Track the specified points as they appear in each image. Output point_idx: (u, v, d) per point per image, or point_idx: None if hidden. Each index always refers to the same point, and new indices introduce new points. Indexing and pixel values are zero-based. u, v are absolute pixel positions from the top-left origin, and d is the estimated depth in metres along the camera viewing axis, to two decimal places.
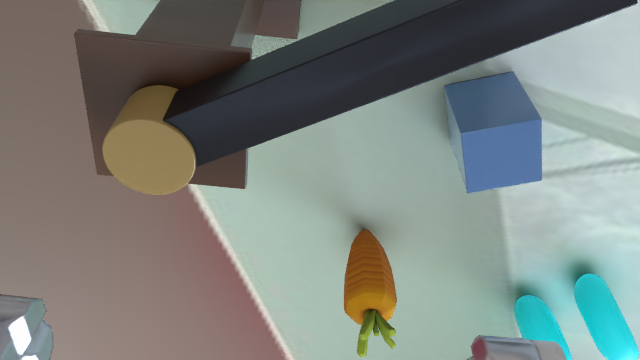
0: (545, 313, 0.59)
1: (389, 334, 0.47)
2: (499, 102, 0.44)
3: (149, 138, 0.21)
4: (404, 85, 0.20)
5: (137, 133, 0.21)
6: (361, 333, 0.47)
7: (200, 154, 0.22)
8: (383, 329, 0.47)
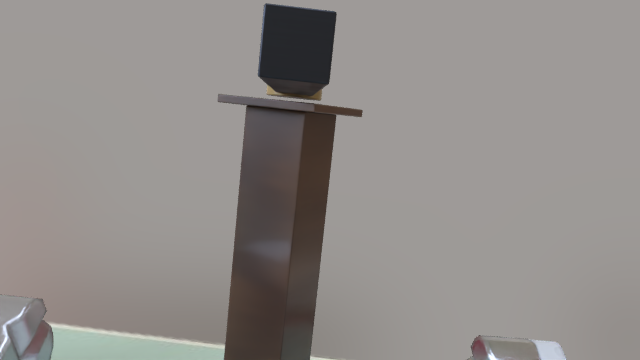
0: None
1: None
2: None
3: None
4: None
5: None
6: None
7: None
8: None
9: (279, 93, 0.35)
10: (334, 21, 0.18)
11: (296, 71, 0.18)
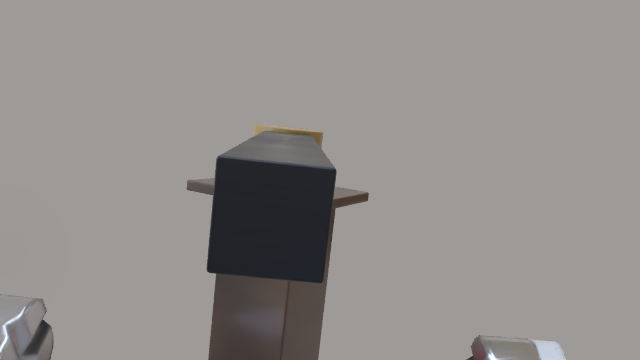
0: None
1: None
2: None
3: None
4: (255, 138, 0.19)
5: (311, 130, 0.29)
6: None
7: (274, 131, 0.27)
8: None
9: None
10: (333, 184, 0.11)
11: (270, 264, 0.11)
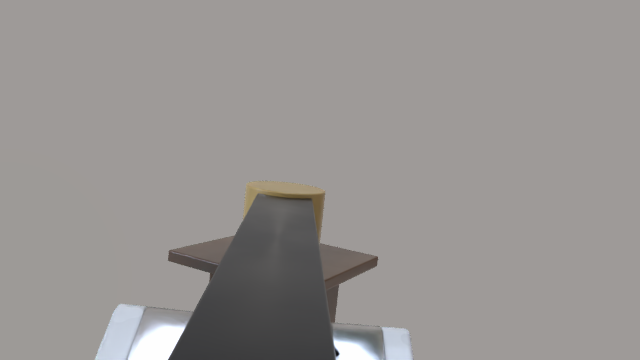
0: None
1: None
2: None
3: (303, 190, 0.25)
4: (239, 238, 0.15)
5: (311, 190, 0.25)
6: None
7: (268, 195, 0.23)
8: None
9: None
10: None
11: None
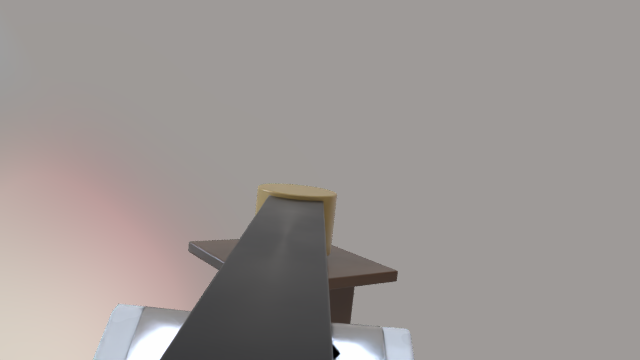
0: None
1: None
2: None
3: (314, 193, 0.25)
4: (246, 238, 0.15)
5: (322, 192, 0.25)
6: None
7: (279, 197, 0.23)
8: None
9: None
10: None
11: None
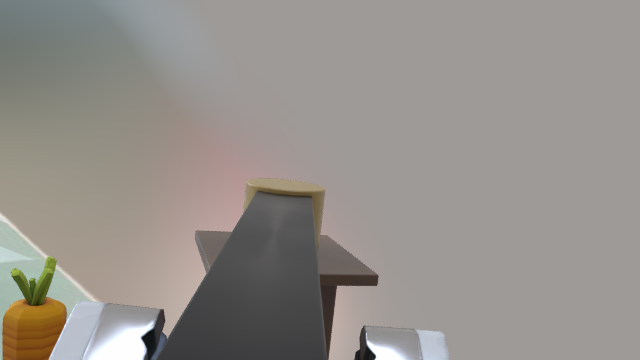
0: None
1: (19, 271, 0.45)
2: None
3: (303, 187, 0.25)
4: (235, 235, 0.15)
5: (311, 187, 0.25)
6: (50, 274, 0.46)
7: (267, 192, 0.23)
8: (25, 278, 0.45)
9: None
10: None
11: None
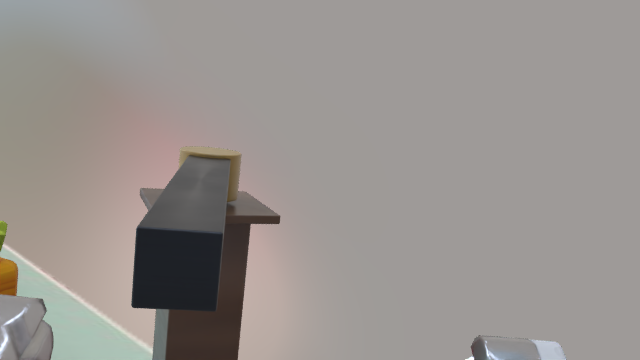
0: None
1: None
2: None
3: (224, 153, 0.33)
4: (174, 180, 0.23)
5: (230, 153, 0.33)
6: (3, 235, 0.52)
7: (196, 156, 0.31)
8: None
9: None
10: (220, 243, 0.16)
11: (177, 300, 0.16)
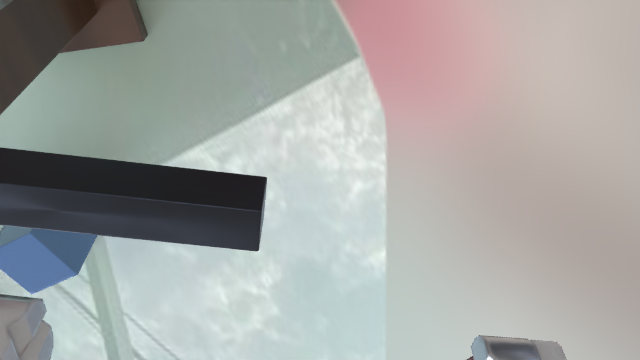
0: None
1: None
2: (74, 233, 0.53)
3: None
4: (76, 230, 0.24)
5: None
6: None
7: None
8: None
9: None
10: (262, 206, 0.23)
11: None
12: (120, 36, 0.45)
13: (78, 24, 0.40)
